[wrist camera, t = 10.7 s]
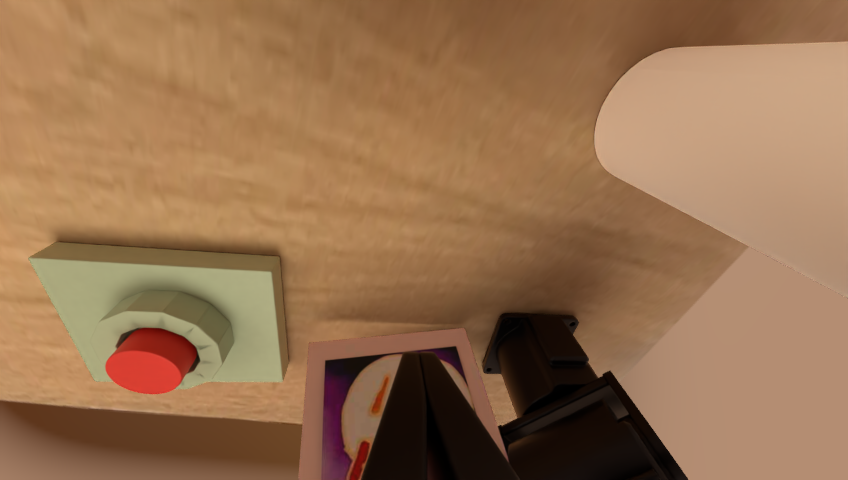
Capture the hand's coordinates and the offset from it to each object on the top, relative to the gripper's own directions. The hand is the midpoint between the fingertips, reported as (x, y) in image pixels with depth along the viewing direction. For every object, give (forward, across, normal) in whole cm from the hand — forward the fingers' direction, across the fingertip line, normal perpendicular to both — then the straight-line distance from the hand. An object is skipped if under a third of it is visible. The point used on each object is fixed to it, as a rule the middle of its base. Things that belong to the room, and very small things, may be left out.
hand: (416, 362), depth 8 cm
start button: (+9, +13, +10) cm, 19 cm away
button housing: (+12, +13, +10) cm, 20 cm away
